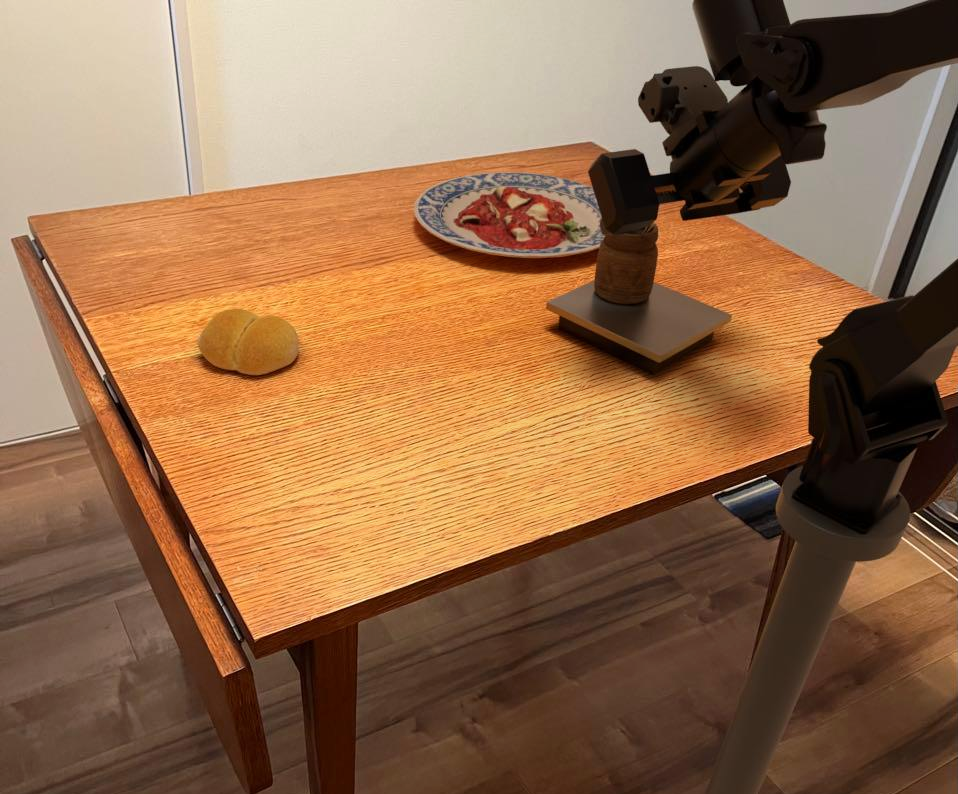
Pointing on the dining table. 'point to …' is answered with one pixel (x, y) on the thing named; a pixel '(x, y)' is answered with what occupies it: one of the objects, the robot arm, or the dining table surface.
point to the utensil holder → (627, 266)
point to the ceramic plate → (513, 214)
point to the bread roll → (248, 342)
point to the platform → (639, 325)
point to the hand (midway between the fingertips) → (643, 222)
